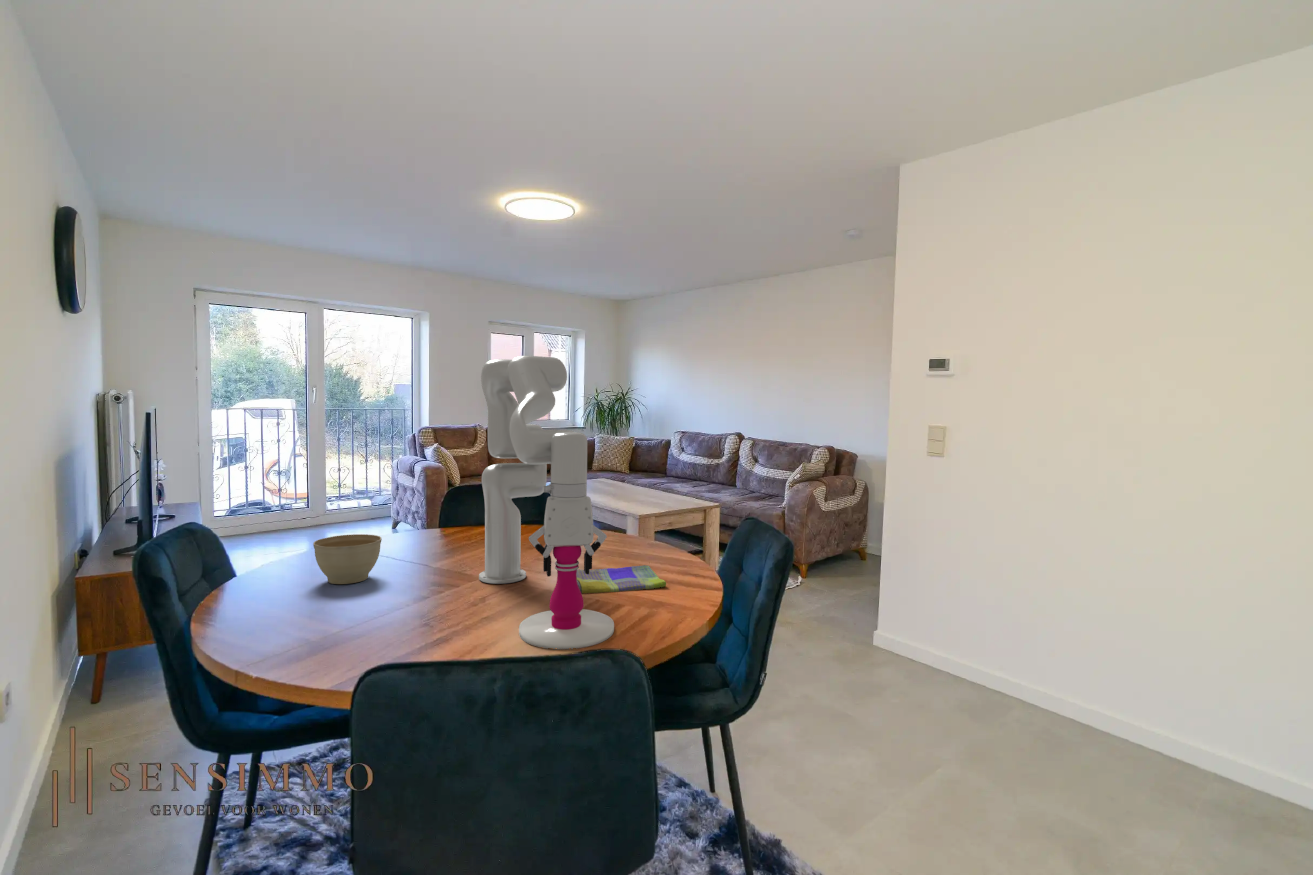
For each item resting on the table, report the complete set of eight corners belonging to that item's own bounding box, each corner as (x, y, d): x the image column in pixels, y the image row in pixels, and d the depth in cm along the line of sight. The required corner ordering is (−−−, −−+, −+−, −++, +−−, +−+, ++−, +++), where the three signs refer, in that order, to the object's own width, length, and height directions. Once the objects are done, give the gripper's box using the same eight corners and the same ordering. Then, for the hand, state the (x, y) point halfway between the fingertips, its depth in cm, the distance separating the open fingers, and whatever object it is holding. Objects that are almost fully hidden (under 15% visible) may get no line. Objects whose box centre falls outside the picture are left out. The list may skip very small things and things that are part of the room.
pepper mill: (554, 632, 121) (555, 536, 120) (545, 621, 128) (546, 529, 126) (588, 627, 124) (589, 533, 123) (577, 616, 131) (578, 527, 130)
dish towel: (667, 591, 156) (667, 580, 156) (574, 596, 150) (575, 585, 150) (652, 572, 173) (653, 563, 173) (569, 576, 167) (569, 566, 167)
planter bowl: (394, 578, 161) (394, 538, 160) (335, 593, 147) (334, 550, 147) (360, 568, 170) (359, 530, 169) (301, 581, 156) (301, 541, 155)
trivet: (517, 617, 133) (517, 611, 133) (605, 610, 138) (605, 605, 138) (520, 653, 114) (520, 647, 114) (622, 644, 119) (622, 638, 119)
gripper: (527, 494, 118) (526, 581, 119) (612, 492, 123) (611, 576, 124) (525, 489, 126) (525, 571, 127) (606, 487, 130) (605, 566, 131)
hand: (567, 573), depth 125 cm, fingers open, 7 cm apart
